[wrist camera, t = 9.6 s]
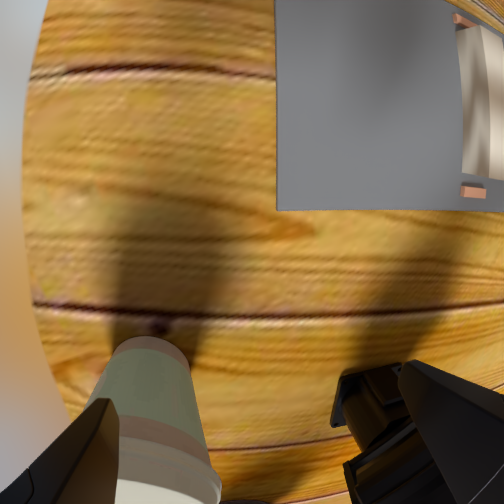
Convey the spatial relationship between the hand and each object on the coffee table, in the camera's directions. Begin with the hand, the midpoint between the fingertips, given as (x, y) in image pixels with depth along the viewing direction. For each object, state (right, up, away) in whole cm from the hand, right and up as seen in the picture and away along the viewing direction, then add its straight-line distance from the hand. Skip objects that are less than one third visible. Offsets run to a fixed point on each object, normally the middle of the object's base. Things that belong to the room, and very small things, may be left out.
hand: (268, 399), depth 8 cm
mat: (+15, +16, +10) cm, 24 cm away
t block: (+21, +16, +11) cm, 29 cm away
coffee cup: (-8, -4, +13) cm, 16 cm away
